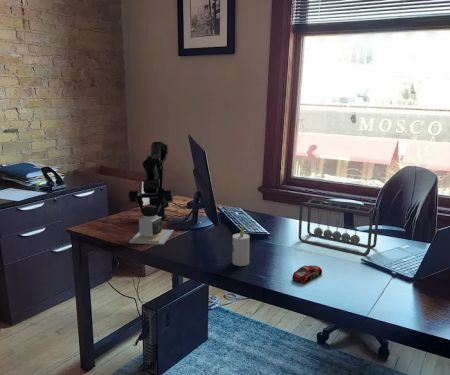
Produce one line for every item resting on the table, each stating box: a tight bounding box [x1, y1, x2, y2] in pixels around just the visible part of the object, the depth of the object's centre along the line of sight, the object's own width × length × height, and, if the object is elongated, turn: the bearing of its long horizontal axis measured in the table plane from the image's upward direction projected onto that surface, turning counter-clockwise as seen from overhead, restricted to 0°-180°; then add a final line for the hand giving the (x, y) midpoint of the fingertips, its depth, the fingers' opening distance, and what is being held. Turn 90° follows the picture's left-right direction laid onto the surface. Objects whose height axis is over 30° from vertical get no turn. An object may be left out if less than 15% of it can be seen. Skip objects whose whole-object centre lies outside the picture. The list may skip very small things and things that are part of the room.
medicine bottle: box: [138, 205, 163, 237], centre depth 173 cm, size 7×7×12 cm
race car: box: [292, 264, 323, 284], centre depth 139 cm, size 13×5×4 cm, turn 133°
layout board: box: [128, 228, 174, 246], centre depth 177 cm, size 17×15×1 cm
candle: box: [231, 224, 251, 267], centre depth 149 cm, size 6×6×15 cm
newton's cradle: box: [298, 197, 380, 257], centre depth 166 cm, size 30×10×18 cm, turn 56°
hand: (149, 213), depth 170 cm, fingers closed on medicine bottle, 6 cm apart
